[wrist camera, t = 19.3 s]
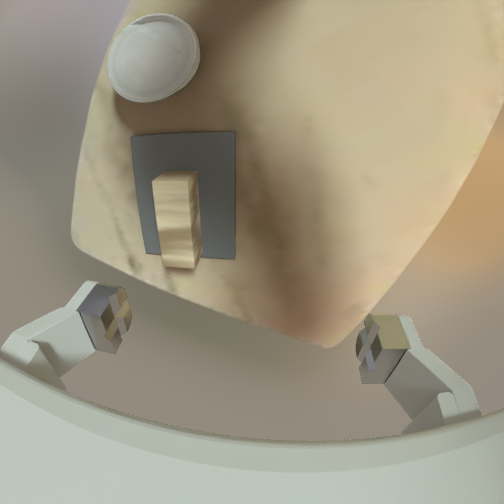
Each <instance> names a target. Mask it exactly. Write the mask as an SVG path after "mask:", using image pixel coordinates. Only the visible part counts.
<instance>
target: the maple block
mask: <svg viewBox="0 0 504 504" xmlns="http://www.w3.org/2000/svg"><path fill="white" fill-rule="evenodd" d="M152 187H153V196H154V205H155V213H156V220H157V228H158V235H159V241H160V248H161V254H162V260H163V266H166V267H179V268H192V269H195V267H196V265H197V263H198V261H199V258H200V256H201V254H202V252H203V251H202V238H201V224H200V208H199V190H198V171H165V172H163V173H162V174H161V175H159V176H158V177H157V178H155V179H154V180H153V181H152Z"/></svg>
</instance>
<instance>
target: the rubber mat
mask: <svg viewBox="0 0 504 504" xmlns="http://www.w3.org/2000/svg"><path fill="white" fill-rule="evenodd" d="M131 145H132V157H133V167H134V176H135V185H136V193H137V201H138V208H139V215H140V221H141V227H142V234H143V239H144V245H145V251H146V253H150V254H161V248H160V241H159V235H158V228H157V220H156V213H155V205H154V196H153V187H152V181H153V180H154V179H155V178H157V177H158V176H159V175H161V174H162V173H163V172H165V171H198V190H199V208H200V224H201V238H202V251H203V252H202V254H201V256H200V257H208V258H223V259H235V132H188V133H167V134H152V135H140V136H132V137H131Z"/></svg>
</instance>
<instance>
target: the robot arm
mask: <svg viewBox="0 0 504 504" xmlns="http://www.w3.org/2000/svg"><path fill="white" fill-rule="evenodd" d="M127 297H128V296H127V292H126V289H125V288H123V287H120V286H115V285H110V284H106V283H100V282H95V281H90V280H89V281H86V282H85V283H84V284H83V285H82V286H81V288H80V289H79V290H78V291H77V293H76V294H75V295H74V296H73V298H72V299H71V300H70V301H69V303H68V304H67V305H66V306H65V308H62V307H61V308H59V309H57V310H55V311H53V312H51V313H49V314H47V315H45V316H43V317H41V318H39V319H37V320H35V321H33V322H31V323H29V324H27V325H25V326H23V327H22V328H19V329H18V330H16V331H14V332H13V333H12V334H11V335H10V337H9V338H8V339H7V341H6V342H5V344H4V345H3V346H2V348H1V349H0V504H504V408H503V409H500V410H498V411H495V412H492V413H489V414H486V415H483V416H482V415H481V412H480V409H479V406H478V403H477V400H476V398H475V395H474V392H473V390H472V387H471V386H470V385H469V384H468V383H467V382H465V381H464V380H463V379H462V378H461V377H460V376H459V375H458V374H456V373H455V372H454V371H453V370H452V369H451V368H449V367H448V366H447V365H446V364H445V363H444V362H443V361H441V360H440V359H439V358H438V357H437V356H435V355H434V354H433V353H432V352H431V351H430V350H428V349H424V348H423V345H422V343H421V340H420V338H419V335H418V333H417V331H416V328H415V326H414V324H413V322H412V319H411V317H410V316H409V315H408V314H395V315H393V314H368V315H367V316H366V318H365V321H364V325H365V328H364V329H363V330H361V331H360V332H359V334H358V337H357V342H356V355H357V358H358V359H359V360H360V361H361V362H362V364H361V365H360V367H359V370H360V376H361V381H362V384H384V385H385V386H386V388H387V389H388V390H389V391H390V393H391V394H392V395H393V396H394V398H395V399H396V400H397V401H398V403H399V404H400V405H401V407H402V408H403V409H404V410H405V412H406V413H407V414H408V415H409V417H410V418H411V419H412V422H411V423H410V424H409V425H408V426H407V427H406V428H405V429H404V430H403V431H402V434H399V435H392V436H385V437H376V438H366V439H352V440H331V441H293V440H271V439H258V438H248V437H238V436H230V435H223V434H215V433H209V432H204V431H198V430H192V429H187V428H182V427H177V426H173V425H168V424H164V423H160V422H156V421H152V420H148V419H144V418H140V417H137V416H134V415H130V414H127V413H124V412H120V411H117V410H114V409H111V408H108V407H105V406H102V405H99V404H97V403H94V402H91V401H88V400H86V399H83V398H81V397H78V396H76V395H73V394H71V393H68V392H66V391H67V389H66V386H65V385H64V383H63V382H62V380H61V379H60V377H61V376H62V375H64V374H65V373H66V372H68V371H69V370H70V369H72V368H73V367H74V366H76V365H77V364H78V363H80V362H81V361H82V360H83V359H85V358H86V357H87V356H89V355H90V354H91V353H93V352H94V351H95V349H96V350H100V351H104V352H108V353H112V354H116V352H117V350H118V348H119V346H120V344H121V342H122V338H121V335H122V334H124V333H125V332H127V331H128V329H129V327H130V324H131V319H132V311H131V308H130V306H129V304H128V303H127V302H126V301H125V300H126V298H127Z"/></svg>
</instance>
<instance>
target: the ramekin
mask: <svg viewBox="0 0 504 504" xmlns="http://www.w3.org/2000/svg"><path fill="white" fill-rule="evenodd" d="M199 63H200V48H199V41H198V37H197V35H196V33H195V31H194V29H193V28H192V27H191V26H190V25H189V24H188V23H187V22H186V21H185V20H183V19H182V18H180V17H178V16H175V15H172V14H167V13H156V14H150V15H146V16H143V17H141V18H139V19H137V20H135V21H133V22H132V23H130V24H129V25H128V26H126V27H125V28H124V29H123V30H122V31H121V32H120V34H119V35H118V36H117V38H116V39H115V41H114V42H113V44H112V46H111V49H110V51H109V55H108V60H107V74H108V78H109V81H110V83H111V86H112V87H113V88H114V90H115V91H116V92H117V93H118V94H119V95H120V96H122V97H123V98H125V99H127V100H129V101H132V102H138V103H149V102H155V101H159V100H162V99H164V98H167V97H169V96H170V95H172V94H174V93H175V92H177V91H178V90H180V89H182V88H183V87H184V86H186V85H187V83H189V82H190V80H191V79H192V78H193V77H194V75H195V73H196V71H197V69H198V66H199Z"/></svg>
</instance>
